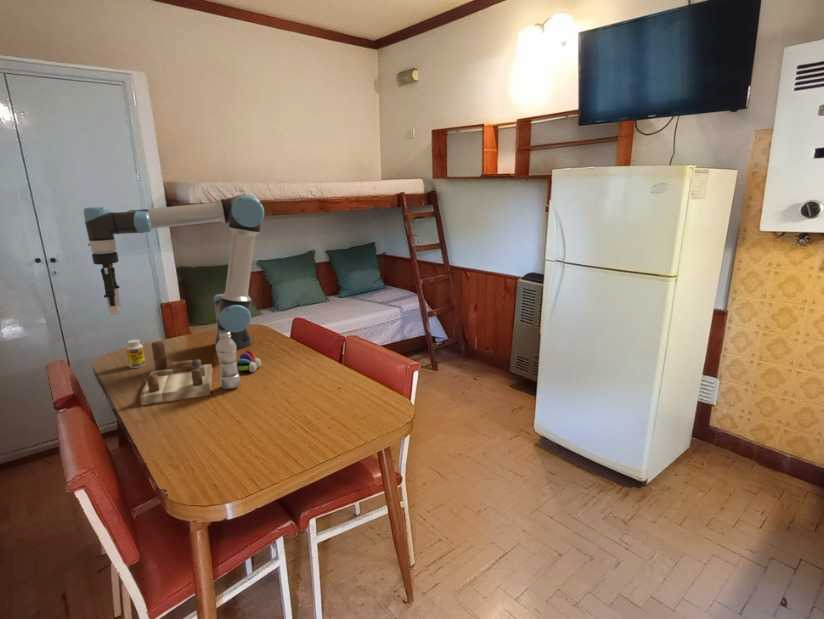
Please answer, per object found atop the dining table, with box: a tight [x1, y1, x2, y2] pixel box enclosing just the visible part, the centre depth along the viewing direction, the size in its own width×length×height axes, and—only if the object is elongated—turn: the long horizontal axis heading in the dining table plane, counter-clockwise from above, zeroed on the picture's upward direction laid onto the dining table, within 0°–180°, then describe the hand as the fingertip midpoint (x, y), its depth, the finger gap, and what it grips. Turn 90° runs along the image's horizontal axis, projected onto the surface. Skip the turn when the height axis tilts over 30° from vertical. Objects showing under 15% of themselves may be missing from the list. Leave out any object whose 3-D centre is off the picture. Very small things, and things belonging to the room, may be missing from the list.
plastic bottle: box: [215, 330, 241, 390], centre depth 155 cm, size 6×7×20 cm
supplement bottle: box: [125, 339, 146, 369], centre depth 177 cm, size 6×6×10 cm
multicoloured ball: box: [236, 350, 262, 374], centre depth 173 cm, size 8×10×7 cm
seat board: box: [139, 363, 213, 406], centre depth 158 cm, size 20×22×8 cm
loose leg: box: [151, 340, 169, 371], centre depth 172 cm, size 4×4×11 cm
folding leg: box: [171, 358, 202, 372], centre depth 165 cm, size 9×3×3 cm, turn 111°
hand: (115, 310), depth 166 cm, fingers open, 13 cm apart
